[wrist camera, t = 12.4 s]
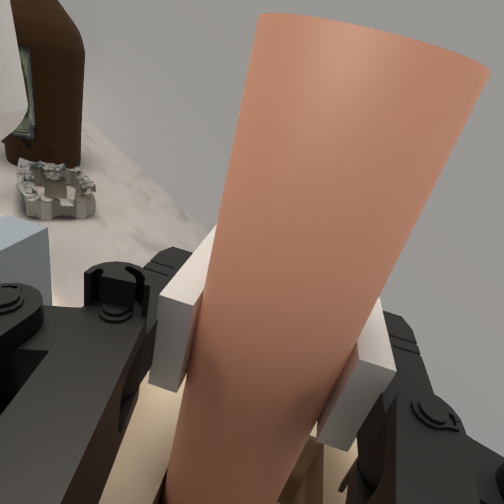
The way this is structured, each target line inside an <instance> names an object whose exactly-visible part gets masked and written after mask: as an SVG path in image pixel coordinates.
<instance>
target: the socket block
mask: <svg viewBox="0 0 504 504" xmlns="http://www.w3.org/2000/svg"><path fill="white" fill-rule="evenodd" d="M149 371H150V370H149ZM149 371H148V373H147V374H146V376H145V378H144V379H143V381H142V382H141V384H140V389H139V396H138V400H137V403H136V406H135V408H134V411H133V414H132V416H131V419H130V422H129V424H128V427H127V430H126V432H125V435H124V438H123V440H122V443H121V446H120V448H119V451H118V453H117V456H116V459H115V461H114V464H113V467H112V469H111V472H110V475H109V477H108V480H107V483H106V485H105V488H104V491H103V493H102V496H101V499H100V501H99V504H161V500H162V495H163V490H164V485H165V480H166V475H167V470H168V466H169V461H170V456H171V451H172V446H173V441H174V436H175V431H176V426H177V421H178V416H179V411H180V406H181V401H182V396H183V391H184V386H185V381H186V376H187V374H186V376H185V378H184V380H183V382H182V384H181V386H180V388H179V390H178V392H177V393H174V392H171V391H168V390H166V389H163V388H160V387H157V386H154V385H151V384H148V379H149ZM316 435H317V422H316V424H315V426H314V428H313V430H312V432H311V434H310V436H309V438H308V440H307V442H306V444H305V446H304V448H303V450H302V452H301V454H300V456H299V458H298V460H297V462H296V464H295V466H294V468H293V470H292V472H291V474H290V476H289V478H288V480H287V482H286V484H285V486H284V488H283V490H282V492H281V494H280V496H279V498H278V500H277V502H276V504H345V503H346V495H347V488H348V485H347V487H346V488H345V490H344V491H343V493H341V492H339V491H338V489H339V486H340V483H341V481H342V480H343V478H344V477H345V475H346V474H347V472H348V470H349V469H350V467H351V466H352V464H353V463H354V461H355V459H356V458H357V456H358V449H357V437H356V439H355V441H354V442H353V444H352V446H351V447H350V449H349V451H348V452H346V451H343V450H340V449H337V448H334V447H331V446H328V445H325V444H322V443H320V442H317V441H316Z"/></svg>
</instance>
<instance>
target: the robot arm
mask: <svg viewBox="0 0 504 504" xmlns="http://www.w3.org/2000/svg"><path fill="white" fill-rule="evenodd" d="M216 226H217V224H216ZM216 226H215V227H214V228H213V229H212V231H211V232H210V233H209V234H208V235H207V237H206V238H205V239H204V240H203V242H202V243H201V244H200V245H199V246H198V248H197V249H196V250H195V251H194V253H192V252H188V251H185V250H182V249H179V248H176V247H171V248H168V249H165V250H163V251H160V252H159V253H158V254H157V255H155V256H154V257H153V258H152V259H151V261H150V262H148V263H147V264H146V265H145V266H144V267H143V268H141V267H140V266H137V265H134V264H131V263H127V262H117V261H116V262H105V263H101V264H98V265H95V266H92V267H91V268H89V269H88V270H87V271H85V272H84V306H83V307H82V308H72V307H59V306H47V305H43V297H42V295H41V293H40V291H39V290H37V289H35V288H34V287H32V286H30V285H25V284H21V283H2V284H0V504H99V501H100V499H101V496H102V493H103V491H104V488H105V485H106V483H107V480H108V477H109V475H110V472H111V469H112V467H113V464H114V461H115V459H116V456H117V453H118V451H119V448H120V446H121V443H122V440H123V438H124V435H125V432H126V430H127V427H128V424H129V422H130V419H131V416H132V414H133V411H134V408H135V406H136V403H137V400H138V396H139V389H140V384H141V382H142V381H143V379H144V378H145V376H146V374H147V373H148V371H149V370H150V371H149V379H148V384H151V385H154V386H157V387H160V388H163V389H166V390H168V391H171V392H174V393H177V392H178V390H179V388H180V386H181V384H182V382H183V380H184V378H185V376H186V374H187V371H188V366H189V361H190V356H191V351H192V346H193V341H194V336H195V331H196V326H197V321H198V316H199V311H200V306H201V301H202V296H203V291H204V286H205V281H206V276H207V271H208V266H209V261H210V256H211V251H212V246H213V241H214V236H215V231H216ZM416 343H417V342H416V339H415V337H414V333H413V330H412V329H411V328H410V326H409V325H408V324H407V323H406V321H405V320H404V319H403V318H402V317H401V316H398V315H395V314H392V313H389V312H386V311H382V307H381V303H380V298H378V300H377V302H376V304H375V306H374V308H373V310H372V312H371V314H370V316H369V318H368V320H367V322H366V324H365V326H364V328H363V330H362V332H361V334H360V336H359V338H358V340H357V342H356V344H355V346H354V348H353V350H352V352H351V354H350V356H349V358H348V360H347V362H346V364H345V366H344V368H343V370H342V372H341V374H340V376H339V378H338V380H337V382H336V384H335V386H334V388H333V390H332V392H331V394H330V396H329V398H328V400H327V402H326V404H325V406H324V408H323V410H322V412H321V414H320V416H319V418H318V420H317V435H316V441H317V442H320V443H322V444H325V445H328V446H331V447H334V448H337V449H340V450H343V451H346V452H348V451H349V449H350V447H351V446H352V444H353V442H354V441H355V439H356V437H357V449H358V456H357V458H356V459H355V461H354V463H353V464H352V466H351V467H350V469H349V470H348V472H347V474H346V475H345V477H344V478H343V480H342V481H341V483H340V486H339V489H338V491H339V492H341V493H343V491H344V490H345V488H346V487H347V485H348V488H347V495H346V503H345V504H504V457H502V456H500V455H499V454H497V453H495V452H494V451H492V450H490V449H489V448H487V447H485V446H483V445H482V444H480V443H478V442H477V441H475V440H473V439H472V438H470V437H469V436H467V435H466V432H465V429H464V427H463V424H462V422H461V419H460V418H459V417H458V415H457V414H456V413H455V411H454V410H453V409H452V408H451V407H450V406H449V405H448V404H447V403H446V402H444V401H443V400H442V399H441V398H440V397H438V396H436V395H435V394H434V392H433V389H432V386H431V383H430V380H429V377H428V375H427V372H426V369H425V366H424V363H423V360H422V357H421V356H420V351H419V348H418V346H417V345H416Z"/></svg>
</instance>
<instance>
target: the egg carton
mask: <svg viewBox="0 0 504 504" xmlns="http://www.w3.org/2000/svg"><path fill="white" fill-rule="evenodd" d="M35 185H42V186H44V187H45V196H46V197H48V198H52V200H51V201H50V202H46V201H42V200H41V197H39V196H38V195H37V190H36V188H35ZM66 185H71V186H73V187H75V188H76V196H75V199H74V201H73V200H69V199H63V198H65V197H66V196H67V191H66ZM17 187H18V189H19V190H20V191H21V192H22V193H23V198H24V203H25V205H26V215H27V216H33V217H37V218H39V219H41V220H53V218H54V217H56V216H60V215H69V216H73V217H75V218H76V219H86V218H87V216H89V215H92V214H94V212H95V206H96V205H95V204H96V203H95V197H94V195H93V194H92V193H94V192H96V189H95V188H96V187H95V184H94V182H93V181H91V180H90V178H89V177H88V176H85V174H82V170H81V169H79V168H78V167H75V168H74V169H68V168H66V167H65V165H64V164H60V165H55V164H54V163H44V162H41V161H39V162H38V163H36V162H31V161H28V160H25V159H22V158H19V161H18V170H17ZM94 187H95V188H94Z"/></svg>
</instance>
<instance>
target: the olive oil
mask: <svg viewBox="0 0 504 504" xmlns="http://www.w3.org/2000/svg"><path fill="white" fill-rule="evenodd" d="M10 4H11V9H12V15H13V21H14V27H15V32H16V38H17V44H18V50H19V55H20V61H21V67H22V73H23V78H24V84H25V90H26V96H27V101H28V109H27V112H26V114H25V116H24V118H23V120H22V121H21V123H20V124H19V125H18V126H17V128H16V129H15V130H14V131H13V132H11V133H10V134H9V135H8V136H6V137H5V138H4V144H5V151H6V157H7V159H8V160H9V161H10V162H12V163H14V164H16V165H18V161H19V158H22V159H25V160H28V161H31V162H36V163H38V162H39V161H41V162H44V163H54V164H55V165H60V164H64V165H65V167H66V168H68V169H73V168H75V167H77V166H79V165H80V160H81V124H82V102H83V82H84V64H85V63H84V62H85V50H84V45H83V41H82V38H81V35H80V32H79V30H78V28H77V27H76V25H75V24H74V22H73V21H72V20H71V18H70V17H69V15H68V14H67V12H66V11H65V10H64V8H63V7H62V6H61V4H60V3H59V1H58V0H10Z"/></svg>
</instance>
